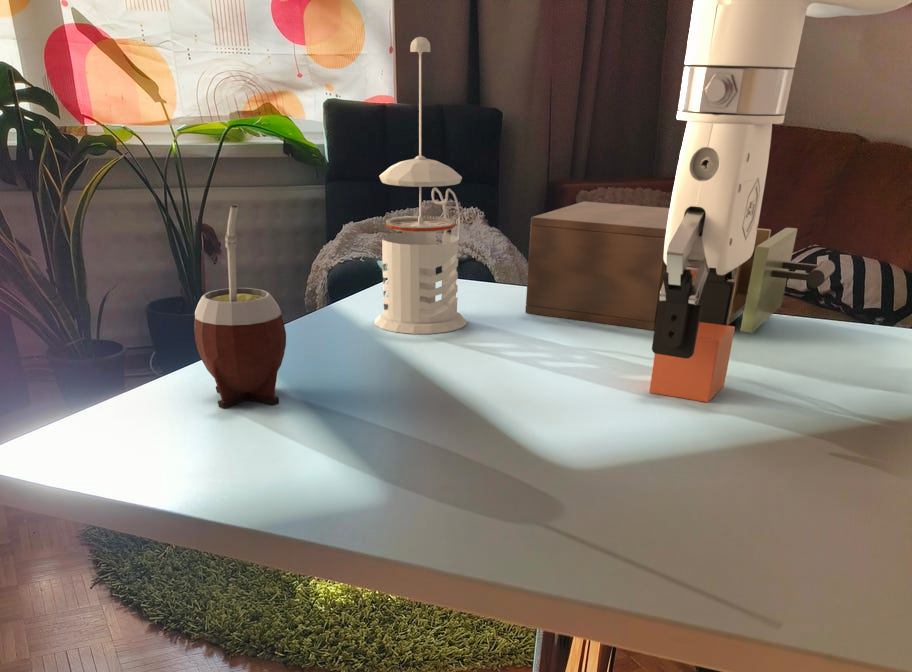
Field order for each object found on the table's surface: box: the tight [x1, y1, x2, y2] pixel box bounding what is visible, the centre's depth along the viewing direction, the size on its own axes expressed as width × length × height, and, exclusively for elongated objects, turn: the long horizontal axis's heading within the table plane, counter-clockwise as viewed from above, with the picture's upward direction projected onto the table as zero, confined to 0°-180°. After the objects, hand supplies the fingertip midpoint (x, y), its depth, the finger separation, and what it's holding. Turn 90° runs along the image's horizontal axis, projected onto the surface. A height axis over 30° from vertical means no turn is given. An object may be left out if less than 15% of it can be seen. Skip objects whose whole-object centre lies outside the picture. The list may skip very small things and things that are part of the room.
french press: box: [374, 36, 468, 335], centre depth 88 cm, size 10×12×25 cm
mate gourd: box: [193, 203, 287, 409], centre depth 68 cm, size 8×8×15 cm
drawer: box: [662, 227, 836, 334], centre depth 92 cm, size 18×13×8 cm
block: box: [648, 322, 736, 403], centre depth 74 cm, size 5×5×5 cm
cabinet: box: [524, 201, 670, 331], centre depth 98 cm, size 15×15×10 cm
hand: (689, 341), depth 73 cm, fingers open, 9 cm apart
